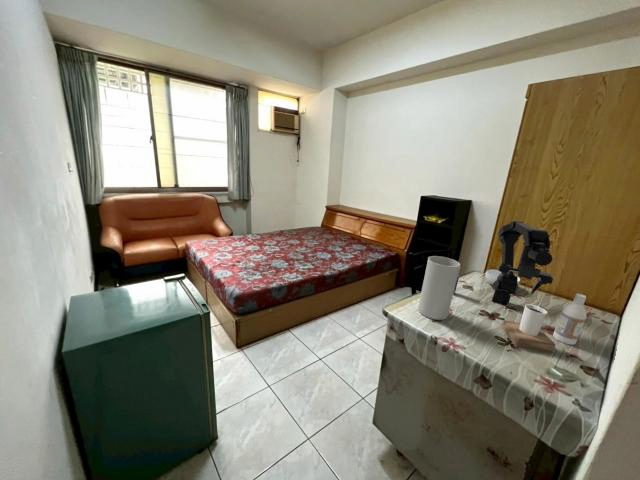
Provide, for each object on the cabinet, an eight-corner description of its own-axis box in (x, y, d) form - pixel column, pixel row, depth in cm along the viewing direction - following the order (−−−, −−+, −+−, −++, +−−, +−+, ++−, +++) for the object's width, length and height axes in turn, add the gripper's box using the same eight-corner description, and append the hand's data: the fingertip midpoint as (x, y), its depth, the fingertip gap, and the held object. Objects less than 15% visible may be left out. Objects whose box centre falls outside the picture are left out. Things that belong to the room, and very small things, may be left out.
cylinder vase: (434, 304, 126) (444, 255, 119) (454, 318, 114) (467, 266, 107) (412, 306, 122) (422, 256, 115) (430, 322, 110) (442, 267, 103)
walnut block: (501, 328, 110) (504, 320, 109) (533, 333, 108) (536, 325, 107) (516, 347, 98) (519, 337, 97) (552, 353, 96) (555, 344, 95)
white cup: (542, 334, 100) (551, 312, 98) (532, 338, 98) (540, 314, 95) (524, 325, 106) (531, 303, 103) (514, 327, 104) (521, 305, 101)
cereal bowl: (479, 278, 163) (482, 267, 161) (509, 282, 159) (512, 272, 157) (488, 289, 147) (492, 278, 145) (522, 295, 143) (526, 283, 141)
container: (456, 292, 140) (462, 266, 136) (453, 295, 136) (459, 269, 132) (447, 289, 143) (452, 264, 139) (444, 292, 139) (450, 266, 135)
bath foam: (566, 346, 101) (585, 300, 96) (548, 334, 108) (564, 291, 102) (580, 344, 103) (598, 299, 97) (560, 333, 109) (577, 290, 104)
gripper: (502, 256, 112) (493, 289, 116) (559, 268, 101) (547, 304, 106) (503, 251, 120) (494, 281, 125) (556, 261, 110) (544, 295, 114)
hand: (518, 290), depth 117 cm, fingers open, 9 cm apart
